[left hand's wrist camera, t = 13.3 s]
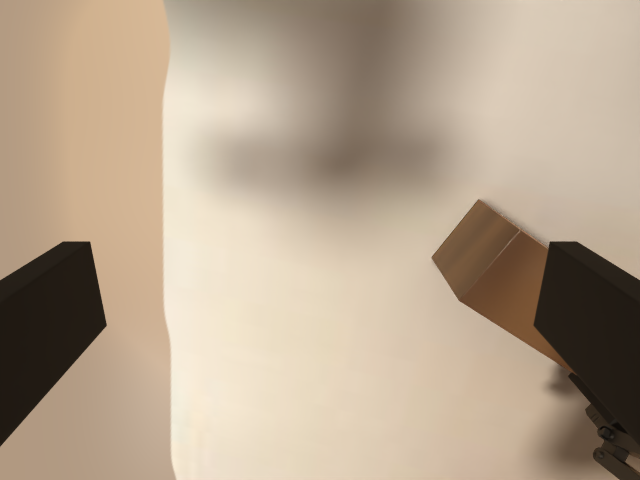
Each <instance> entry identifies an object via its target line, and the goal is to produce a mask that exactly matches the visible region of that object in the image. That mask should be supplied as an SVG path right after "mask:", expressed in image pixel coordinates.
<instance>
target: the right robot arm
mask: <svg viewBox="0 0 640 480" xmlns="http://www.w3.org/2000/svg"><path fill="white" fill-rule="evenodd" d="M568 377H569V378H570V379H571V380H572V381H573V383H574V384H575V385H576V386H577V387H578V389H579V390H580V391H581V392H582V393H583V394H584V396H585V397H586V398H587V399H588V400H589V402H590V403H591V405H589V406H588V407H587V408H586V409H585V410H586V413H587V415H588V417H589V418H590V419H591V420H592V421H593V422H594V424H595V425H596V426H597V428H598V431H597V432H598V435H599V437H601V438H602V439H604V443H603V445H602V447H601V448H596V449H595V450H594V452H593V457H594V459H595V460H596V461H597V462H598V463H600V464H601V465H602V466H603V467H605V468H606V469H607V470H608V471H610V472H611V473H612V474H613V475H615V476H616V477H617V478H618V479H620V480H640V473H639V472H638V471H637V470H635V469H634V468H632V467H631V466H630V465H628V464H627V463H626V462H625V460H626V458H627V457H628V455H629V454H630V455H632V456H635V457H637V458H639V459H640V446H639V445H638V444H637V443H636V442H635V441H634V439H633V438H632V437H631V436H630V435H629V434H628V433H627V431H626V430H625V429H624V428H623V427H622V426H621V425H620V424H619V422H618V421H617V420H616V419H615V418H614V417H613V416H612V414H611V413H610V412H609V411H608V410H607V409H606V408H605V406H604V405H603V404H602V403H601V402H600V401H599V400H598V399H597V397H596V396H595V395H594V394H593V393H592V392H591V391H590V389H589V388H588V387H587V386H586V385H585V384H584V383H583V381H582V380H581V379H580V378H579V377H578V376H577V375H575V374H574V373H571V374H570V375H569V376H568Z"/></svg>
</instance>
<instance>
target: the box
mask: <svg viewBox="0 0 640 480" xmlns="http://www.w3.org/2000/svg"><path fill="white" fill-rule="evenodd" d="M548 249H549V248H548V247H546V246H545V245H543V244H542V243H540V242H539V241H538V240H536V239H535V238H533V237H532V236H530V235H529V234H528V233H526V232H525V231H523V230H522V229H520V228H519V227H518V226H516V225H515V224H513V223H512V222H510V221H509V220H508V219H506V218H505V217H503V216H502V215H500V214H499V213H498V212H496V211H495V210H493V209H492V208H490V207H489V206H488V205H486V204H485V203H483V202H482V201H480V200H478V201H477V202H476V204H475V205H474V206H473V207H472V209H471V210H470V211H469V212H468V213H467V215H466V216H465V217H464V218H463V220H462V221H461V222H460V223H459V225H458V226H457V227H456V228H455V229H454V231H453V232H452V233H451V234H450V236H449V237H448V238H447V239H446V241H445V242H444V243H443V244H442V245H441V247H440V248H439V249H438V250H437V252H436V253H435V254H434V255H433V257H432V259H433V261H434V262H435V264H436V265H437V267H438V269H439V270H440V272H441V273H442V275H443V276H444V278H445V280H446V281H447V283H448V284H449V286H450V287H451V289H452V290H453V292H454V294H455V295H456V297H457V298H458V300H459V301H460V302H462V303H464V304H465V305H467V306H468V307H470V308H471V309H473V310H475V311H476V312H478V313H479V314H481V315H482V316H484V317H486V318H487V319H489V320H490V321H492V322H493V323H495V324H497V325H498V326H500V327H501V328H503V329H505V330H506V331H508V332H509V333H511V334H512V335H514V336H516V337H517V338H519V339H520V340H522V341H523V342H525V343H527V344H528V345H530V346H531V347H533V348H534V349H536V350H538V351H539V352H541V353H542V354H544V355H546V356H547V357H549V358H550V359H552V360H553V361H555V362H557V363H558V364H560V365H561V366H563V367H564V368H566V369H568V370H569V371H571V372H572V373H574V374H575V372H574V371H573V370H572V369H571V368H570V367H569V366H568V364H567V363H566V362H565V361H564V360H563V359H562V358H561V357H560V355H559V354H558V353H557V352H556V351H555V350H554V349H553V347H552V346H551V345H550V344H549V343H548V342H547V341H546V339H545V338H544V337H543V336H542V335H541V334H540V333H539V332H538V330H537V329H536V328H535V327H534V326H533V324H534V319H535V314H536V309H537V304H538V299H539V294H540V289H541V284H542V279H543V274H544V269H545V264H546V259H547V254H548ZM575 375H576V374H575Z"/></svg>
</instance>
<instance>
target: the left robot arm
mask: <svg viewBox="0 0 640 480" xmlns="http://www.w3.org/2000/svg"><path fill="white" fill-rule="evenodd" d="M106 326H107V324H106V320H105V314H104V309H103V304H102V299H101V294H100V289H99V284H98V279H97V274H96V269H95V264H94V259H93V254H92V249H91V244H90V242H62V243H60V244H59V245H57V246H55V247H54V248H52V249H50V250H49V251H47V252H46V253H44V254H42V255H41V256H39V257H38V258H36V259H34V260H33V261H31V262H29V263H28V264H26V265H24V266H23V267H21V268H20V269H18V270H16V271H15V272H13V273H12V274H10V275H8V276H7V277H5V278H3V279H2V280H0V446H1V445H2V444H3V443H4V442H5V441H6V439H7V438H8V437H9V436H10V435H11V434H12V433H13V431H14V430H15V429H16V428H17V427H18V426H19V425H20V424H21V422H22V421H23V420H24V419H25V418H26V417H27V416H28V414H29V413H30V412H31V411H32V410H33V409H34V408H35V406H36V405H37V404H38V403H39V402H40V401H41V400H42V398H43V397H44V396H45V395H46V394H47V393H48V392H49V391H50V389H51V388H52V387H53V386H54V385H55V384H56V383H57V381H58V380H59V379H60V378H61V377H62V376H63V375H64V373H65V372H66V371H67V370H68V369H69V368H70V367H71V366H72V364H73V363H74V362H75V361H76V360H77V359H78V358H79V356H80V355H81V354H82V353H83V352H84V351H85V350H86V349H87V347H88V346H89V345H90V344H91V343H92V342H93V341H94V339H95V338H96V337H97V336H98V335H99V334H100V333H101V332H102V330H103V329H104V328H105V327H106ZM533 326H534V327H535V328H536V329H537V330H538V332H539V333H540V334H541V335H542V336H543V337H544V338H545V339H546V341H547V342H548V343H549V344H550V345H551V346H552V347H553V349H554V350H555V351H556V352H557V353H558V354H559V355H560V357H561V358H562V359H563V360H564V361H565V362H566V363H567V364H568V366H569V367H570V368H571V369H572V370H573V371H574V372H575V374H576V375H577V376H578V377H579V378H580V379H581V380H582V381H583V383H584V384H585V385H586V386H587V387H588V388H589V389H590V391H591V392H592V393H593V394H594V395H595V396H596V397H597V399H598V400H599V401H600V402H601V403H602V404H603V405H604V406H605V408H606V409H607V410H608V411H609V412H610V413H611V414H612V416H613V417H614V418H615V419H616V420H617V421H618V422H619V424H620V425H621V426H622V427H623V428H624V429H625V430H626V431H627V433H628V434H629V435H630V436H631V437H632V438H633V439H634V441H635V442H636V443H637V444H638V445H639V446H640V280H638V279H637V278H635V277H633V276H632V275H630V274H629V273H627V272H625V271H624V270H622V269H620V268H619V267H617V266H616V265H614V264H612V263H611V262H609V261H607V260H606V259H604V258H603V257H601V256H599V255H598V254H596V253H594V252H593V251H591V250H590V249H588V248H586V247H585V246H583V245H581V244H580V243H578V242H550V244H549V249H548V254H547V259H546V264H545V269H544V274H543V279H542V284H541V289H540V294H539V299H538V304H537V309H536V314H535V319H534V324H533Z"/></svg>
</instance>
